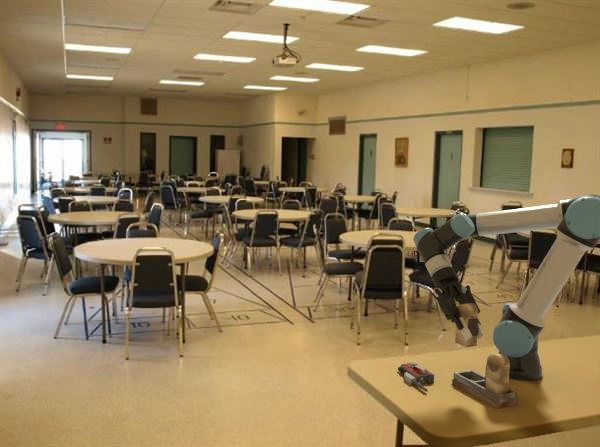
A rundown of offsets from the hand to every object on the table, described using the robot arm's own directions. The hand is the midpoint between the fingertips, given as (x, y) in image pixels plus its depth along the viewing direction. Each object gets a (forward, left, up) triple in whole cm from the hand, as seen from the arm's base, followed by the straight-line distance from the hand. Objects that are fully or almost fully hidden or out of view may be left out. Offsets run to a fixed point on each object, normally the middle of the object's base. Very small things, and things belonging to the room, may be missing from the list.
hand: (475, 337), depth 181 cm
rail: (-4, 0, -18) cm, 18 cm away
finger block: (0, -4, -3) cm, 5 cm away
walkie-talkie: (+8, -15, -18) cm, 26 cm away
